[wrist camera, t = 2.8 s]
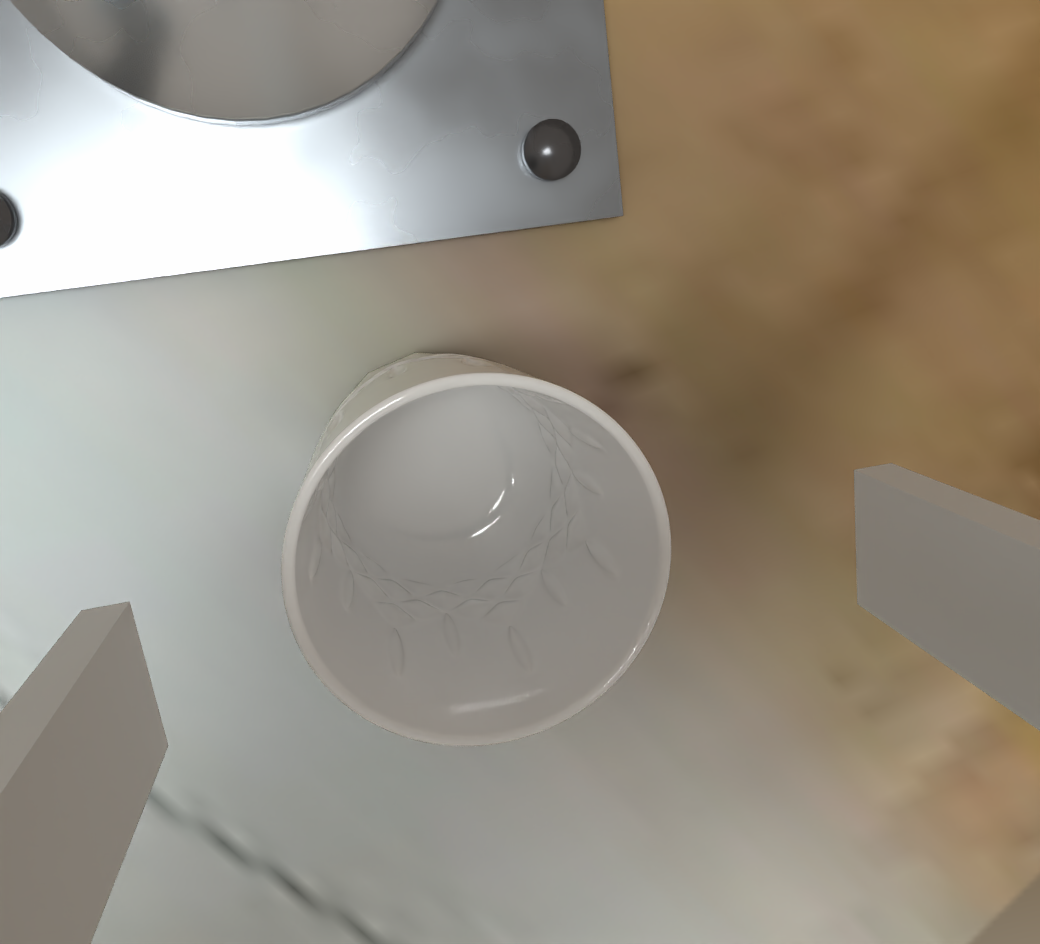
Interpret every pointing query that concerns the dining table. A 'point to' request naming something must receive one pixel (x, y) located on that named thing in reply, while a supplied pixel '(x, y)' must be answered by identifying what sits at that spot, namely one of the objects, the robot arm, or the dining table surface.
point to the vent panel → (290, 130)
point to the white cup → (473, 552)
